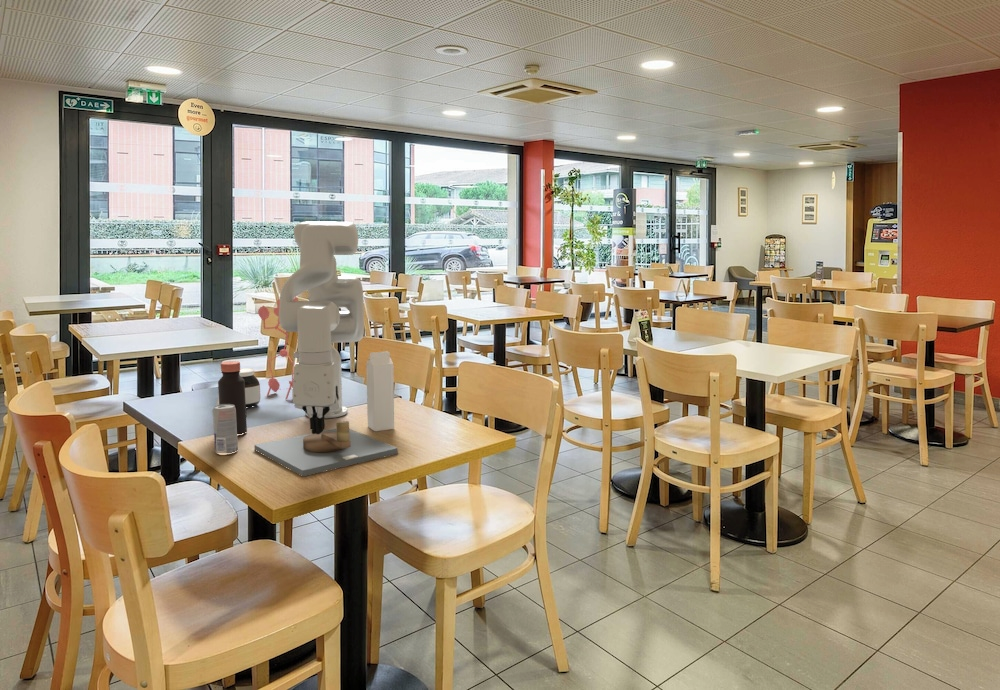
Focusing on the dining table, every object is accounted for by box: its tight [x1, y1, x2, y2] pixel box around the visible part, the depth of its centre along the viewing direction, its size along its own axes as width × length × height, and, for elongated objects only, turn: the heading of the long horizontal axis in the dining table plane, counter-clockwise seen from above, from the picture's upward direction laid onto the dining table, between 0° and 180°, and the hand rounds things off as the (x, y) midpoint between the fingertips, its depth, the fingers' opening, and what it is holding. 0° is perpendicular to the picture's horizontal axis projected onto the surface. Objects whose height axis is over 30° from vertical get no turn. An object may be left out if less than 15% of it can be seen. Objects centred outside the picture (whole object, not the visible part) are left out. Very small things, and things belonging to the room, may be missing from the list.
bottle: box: [217, 360, 248, 434], centre depth 192 cm, size 7×7×20 cm
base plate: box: [254, 428, 399, 477], centre depth 178 cm, size 26×26×2 cm
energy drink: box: [212, 404, 239, 453], centre depth 177 cm, size 5×5×12 cm
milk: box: [365, 351, 395, 432], centre depth 200 cm, size 6×6×22 cm
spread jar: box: [216, 368, 261, 408], centre depth 223 cm, size 12×11×12 cm
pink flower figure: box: [257, 296, 299, 400], centre depth 239 cm, size 15×26×35 cm, turn 59°
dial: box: [303, 420, 351, 452], centre depth 176 cm, size 16×11×8 cm
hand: (317, 432), depth 169 cm, fingers closed
